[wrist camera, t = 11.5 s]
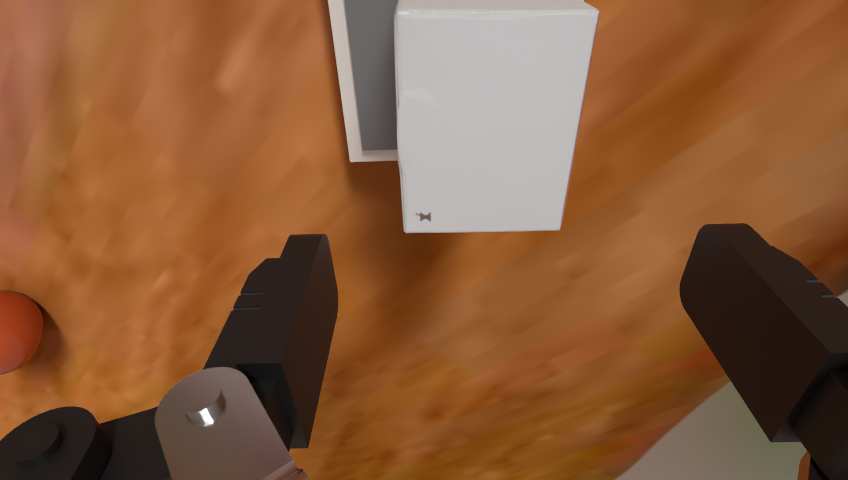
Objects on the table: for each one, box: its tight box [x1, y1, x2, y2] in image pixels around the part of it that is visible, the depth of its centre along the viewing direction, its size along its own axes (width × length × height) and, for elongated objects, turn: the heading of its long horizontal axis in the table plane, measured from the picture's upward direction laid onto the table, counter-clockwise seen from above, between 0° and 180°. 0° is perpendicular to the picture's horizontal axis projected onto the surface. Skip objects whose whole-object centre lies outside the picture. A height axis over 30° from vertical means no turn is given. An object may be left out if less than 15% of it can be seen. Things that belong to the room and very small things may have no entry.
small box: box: [394, 0, 600, 233], centre depth 21 cm, size 8×6×13 cm
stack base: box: [328, 0, 584, 162], centre depth 28 cm, size 14×14×4 cm
